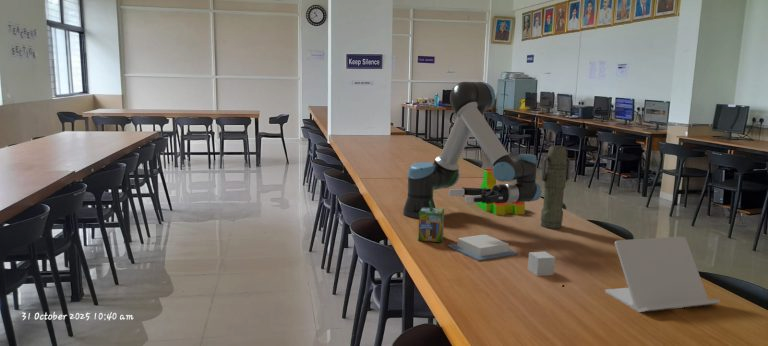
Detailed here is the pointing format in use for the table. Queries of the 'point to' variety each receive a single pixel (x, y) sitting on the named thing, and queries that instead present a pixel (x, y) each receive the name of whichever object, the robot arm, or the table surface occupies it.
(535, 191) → the robot arm
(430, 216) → the chalk box
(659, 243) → the tablet stand
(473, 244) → the base block
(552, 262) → the white cube
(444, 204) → the table surface
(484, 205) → the building blocks toy
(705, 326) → the table surface
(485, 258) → the board
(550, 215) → the dark piece
